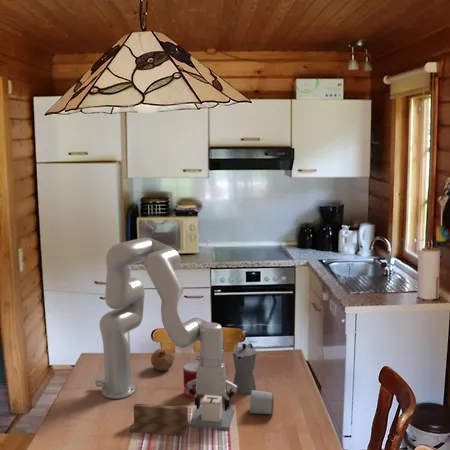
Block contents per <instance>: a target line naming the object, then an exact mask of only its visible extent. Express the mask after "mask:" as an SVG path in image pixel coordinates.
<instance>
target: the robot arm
mask: <svg viewBox="0 0 450 450" xmlns="http://www.w3.org/2000/svg"><path fill="white" fill-rule="evenodd" d="M105 258H106V259H105V261H106V262H105V263H106V264H105V265H106V280H105V295H104V298H105V304H106V306H107V307H108V308H110V309H112V310H111V311H108V312H106V313H105V314H104V315H102V317H101V318H100V320H99V331H100V335H101V338H102V339H101V340H102V346H103V347H102V348H103V364H104V367H103V368H104V378H103V379H102V378H95V381H94V382H95V387H101V393H100V394H101V395H102V396H103V397H104V398H106V399H113V400H117V399H118V400H119V399H123V398H128V397H129V396H131V395H133V394H134V393H135V392H136V385H135V384H134V383H132V381H131V380H132V379H131V355H130V353H131V351H130V344H129V343H130V342H129V341H128V339H127V337H126V333H129V332H130V331H133V330H135V329H136V328H138V327H140V326H141V324H142V321H143V317H144V308H145V307H144V306H145V305H144V304H145V288H144V285H143V283H142V282H141V280H139V278H136V277H131V269H130V266H133V265H137V264H139V263H143V265H144V269H145V271H146V272H147V274H148V275H147V276H149V278H150V281H151V283H152V284H153V287H154V288H155V290H156V292H157V294H158V296H159V298H160V300H161V305H160V314H161V316H160V317H161V321H162V325H163V328H164V330H165V331H166V334H167V337H168V338H169V339H170V341H171V342H172V343H173V344H174V345H175V346H176V347H177V348H180V349H184V348H187V347H189V346H191V345H193V344H195V343H197V342H199V350H200V351H199V355H196V356H195V360H196V361H199V362H198V363H199V364H198V367H197V375H196V379H195V380H192V381H190V382H188V383H187V387H188V389H189V392H190V393H191V394H192V395H193V397H194V398H195V399H194V406H195V407H196V408H195V410H196V409H199V407H201V398H200V394H202V395H204V396H205V395H209V396H222V397H224V408H223V409H224V410H225V411H227V409H230V407H231V406H230V403H231V402H230V399H231V398H232V397H233V396H234V395H235V394H236V390H237V388H238V386H237V385H235V384H233V383H234V382H231V381H229V380H228V376H227V368H226V364H225V362H224V360H223V359H224V357H223V352H224V351H223V350H224V347H223V346H224V345H223V339H224V338H223V327H222V325H221V323H217V322H210V321H207V320H205V319H203V318H201V317H200V318H199V317H194V318H191V319H188V320H187V321H186V320H185V321H184V322H182V320H181V318H180V314H179V311H178V305H179V304H178V303H179V300H180V299H181V296H182V294H183V292H184V286H183V284H182V283H181V281H180V279H179V277H178V275H177V273H176V270H178V269H179V268H180V266H181V264H182V263H181V262H182V259H181V256H180V254H179V252H178V251H177V250H176V249H175V248H173V247H171V246H170V245H167V244H165V243H163V242H160V241H158V240H155V239H153V238H151V237H140V238H137V239H132V240H126V241H124V242H120V243H117V244H114V245H112V246H111V247H109V249H108V251H107V253H106V257H105ZM195 384H196V390H195V389H194V388H193V387H192V385H195ZM228 388H231V391H229V390H228Z"/></svg>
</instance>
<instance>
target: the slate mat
mask: <svg viewBox="0 0 450 450" xmlns="http://www.w3.org/2000/svg"><path fill="white" fill-rule="evenodd" d="M234 413H235V409H233V408H228V409H227V411H225V410H224V408H223V407H222V415H221V418H220V421H219V422H217V421H204V420H202V419H201V406H200V407H199V409H196V408H195V411H194V414H193V416H192V418H191V420H190V421H189V428H198V427H199V428H198V429H209V428H211V429H213V430H224V431H228V430H229V429H230V426H231V423H232V420H233V416H234ZM200 427H201V428H200ZM229 431H230V430H229Z"/></svg>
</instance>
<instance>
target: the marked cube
mask: <svg viewBox="0 0 450 450" xmlns="http://www.w3.org/2000/svg"><path fill="white" fill-rule="evenodd" d="M202 398H203V399H202V400H201V402H200V407H201V419H202V420H204V421H217V422H219V421H220V418H221V415H222V408H223V395H222V396H215V395H204V396H203V397H202Z"/></svg>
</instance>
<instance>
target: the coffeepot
mask: <svg viewBox="0 0 450 450" xmlns="http://www.w3.org/2000/svg"><path fill="white" fill-rule="evenodd" d="M241 345H242V346H240V347H239V346H238V347H236V348H233V349H232V357H233V363H234V370H235V371H234V378H233V382H232V383H233V384H235V385H237V386H238V388H237V390H236V392H235V394H239V395H249V394H250V395H251V391H252V390H255V391H257V387H256V382H255V381H256V380H255V375H254V369H255V366H256V356H257V350H256V349H255V348H254V346H253V344H252V343H251V342H250V343H248V344H246V343H242V344H241Z"/></svg>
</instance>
